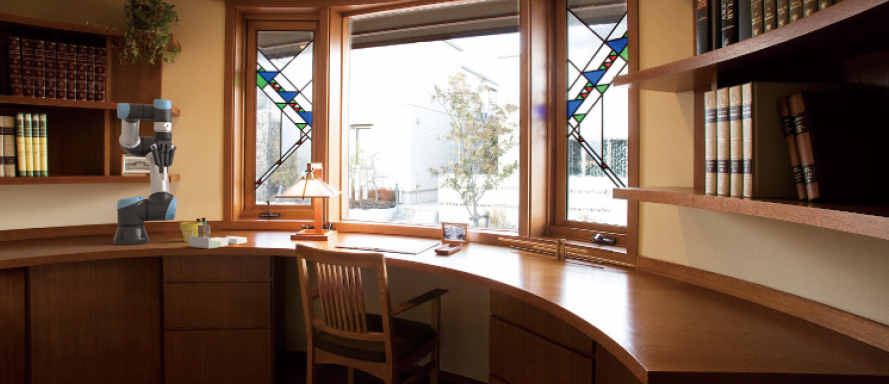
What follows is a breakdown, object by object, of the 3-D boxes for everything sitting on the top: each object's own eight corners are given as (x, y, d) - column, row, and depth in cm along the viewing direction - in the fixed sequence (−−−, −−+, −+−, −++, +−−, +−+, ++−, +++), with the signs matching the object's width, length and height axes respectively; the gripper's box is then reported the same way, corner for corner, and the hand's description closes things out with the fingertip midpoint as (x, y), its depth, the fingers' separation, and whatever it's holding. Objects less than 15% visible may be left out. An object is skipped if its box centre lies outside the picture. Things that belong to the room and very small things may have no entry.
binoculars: (193, 218, 285) (209, 216, 283) (195, 236, 285) (211, 235, 284) (183, 219, 276) (199, 218, 274) (185, 238, 276) (201, 237, 275)
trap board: (227, 240, 266) (227, 231, 266) (247, 242, 260) (246, 232, 260) (189, 246, 246) (188, 236, 245) (208, 248, 239) (208, 238, 239)
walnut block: (205, 240, 248) (204, 224, 247) (210, 241, 246) (210, 225, 246) (197, 241, 244) (197, 225, 244) (203, 242, 242) (203, 225, 242)
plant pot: (206, 240, 267) (206, 221, 266) (195, 243, 256) (194, 223, 256) (188, 239, 268) (187, 221, 267) (175, 242, 257) (175, 223, 257)
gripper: (155, 130, 236) (156, 180, 237) (180, 132, 248) (181, 180, 249) (145, 130, 239) (145, 180, 240) (170, 132, 251) (170, 179, 252)
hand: (163, 180), depth 245 cm, fingers closed
